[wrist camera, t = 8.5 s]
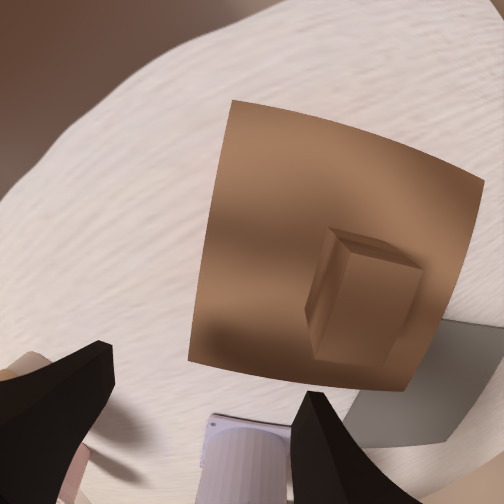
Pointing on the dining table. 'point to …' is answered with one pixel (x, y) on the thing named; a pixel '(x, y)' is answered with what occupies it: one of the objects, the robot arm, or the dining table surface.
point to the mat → (430, 390)
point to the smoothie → (74, 476)
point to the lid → (327, 252)
